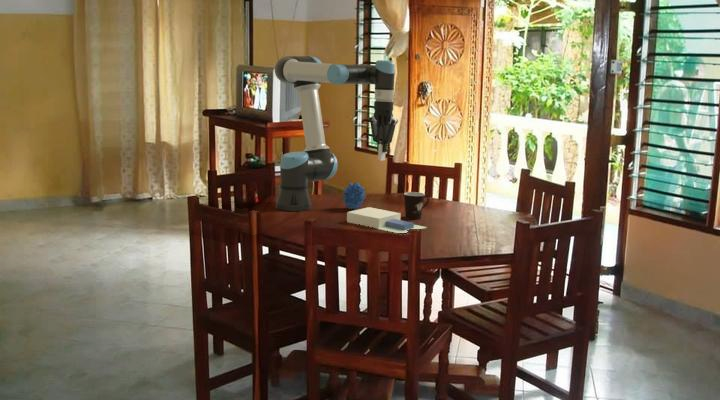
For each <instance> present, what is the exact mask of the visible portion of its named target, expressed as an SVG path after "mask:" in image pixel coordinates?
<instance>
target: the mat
mask: <svg viewBox="0 0 720 400" xmlns="http://www.w3.org/2000/svg"><path fill="white" fill-rule="evenodd" d="M427 227H428V226H423V225H418V224H414V228H412V229H421V230H425V229H427ZM377 230H379V231H383V232H384V231H385V232H387V231H388V233H392V232H393V234H397V233H407V232H408V231H407V230H400V229H395V228H391V227H386V226H385V227H381V228H378V229H377ZM408 230H409V229H408ZM407 234H408V233H407Z"/></svg>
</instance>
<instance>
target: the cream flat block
mask: <svg viewBox="0 0 720 400" xmlns="http://www.w3.org/2000/svg"><path fill="white" fill-rule="evenodd" d="M401 215H402V214H401V212H396V211H391V210H385V209H379V208H375V207H371V206H369V207H368V206H367V207H364V208H363V207H362V208H359V209H355V210H351V211H350V210H349V211H347V212H346V222H347V223H349V224H353V225H354V224H355V225H359V224H360V226H363V225H364V226H363V227H368V226H369V228H372V227H373V228H372V229H377V230H378V228H381V227H385V226H386V221H390V220H394V219H397V220H401V218H402V217H401Z"/></svg>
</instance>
